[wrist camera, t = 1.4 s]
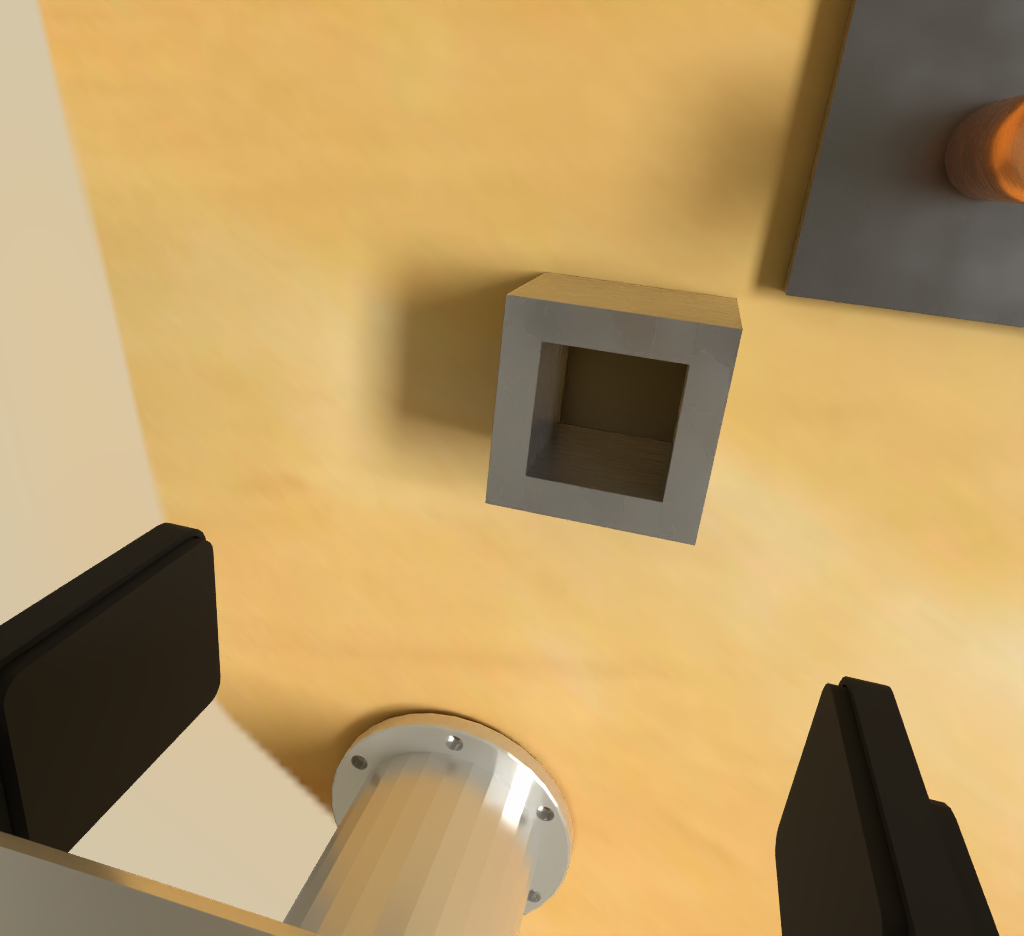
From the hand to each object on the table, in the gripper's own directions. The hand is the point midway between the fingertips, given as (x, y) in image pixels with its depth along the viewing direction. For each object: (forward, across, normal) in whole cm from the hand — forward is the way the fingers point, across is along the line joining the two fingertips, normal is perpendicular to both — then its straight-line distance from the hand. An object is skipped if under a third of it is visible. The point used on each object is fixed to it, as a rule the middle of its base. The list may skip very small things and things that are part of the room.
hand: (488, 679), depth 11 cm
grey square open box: (+20, 0, 0) cm, 20 cm away
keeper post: (+20, -10, -9) cm, 24 cm away
